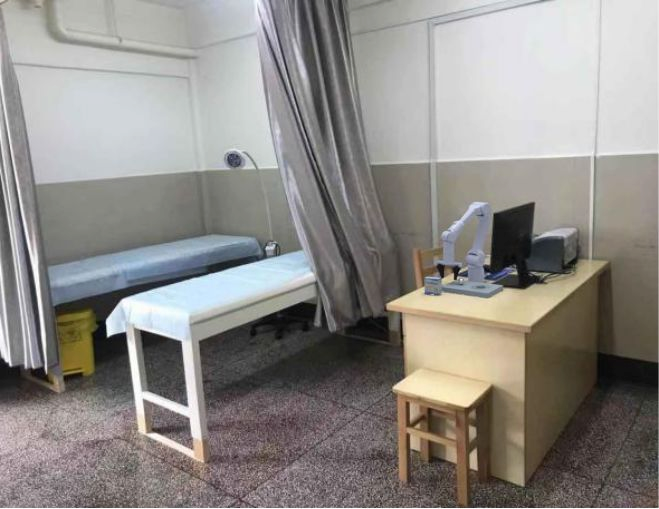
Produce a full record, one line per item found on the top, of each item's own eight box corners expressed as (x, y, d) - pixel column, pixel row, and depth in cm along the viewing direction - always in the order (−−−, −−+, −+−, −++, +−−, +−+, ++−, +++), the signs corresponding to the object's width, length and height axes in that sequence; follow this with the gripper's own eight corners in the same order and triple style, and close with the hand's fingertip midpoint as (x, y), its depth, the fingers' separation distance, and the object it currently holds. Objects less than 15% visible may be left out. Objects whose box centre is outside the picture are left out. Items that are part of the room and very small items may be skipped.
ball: (459, 283, 289) (459, 277, 289) (465, 284, 287) (465, 277, 286) (456, 285, 287) (456, 278, 286) (462, 285, 285) (462, 279, 284)
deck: (440, 291, 285) (440, 286, 285) (457, 284, 299) (457, 279, 298) (488, 298, 269) (488, 293, 268) (503, 290, 282) (503, 285, 281)
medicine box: (424, 294, 281) (424, 278, 280) (427, 292, 285) (426, 276, 284) (439, 295, 278) (439, 279, 276) (441, 293, 282) (441, 277, 280)
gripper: (432, 254, 290) (433, 278, 293) (457, 256, 281) (457, 282, 283) (439, 251, 295) (439, 276, 298) (464, 254, 286) (464, 279, 289)
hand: (448, 279), depth 291 cm, fingers open, 7 cm apart
